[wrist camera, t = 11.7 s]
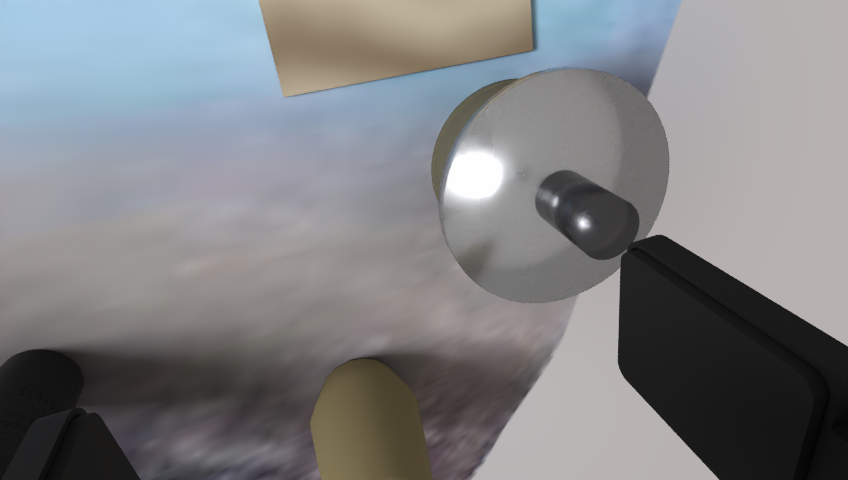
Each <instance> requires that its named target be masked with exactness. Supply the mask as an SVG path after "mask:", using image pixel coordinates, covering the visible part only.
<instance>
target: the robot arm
mask: <svg viewBox="0 0 848 480" xmlns="http://www.w3.org/2000/svg"><path fill="white" fill-rule="evenodd" d="M619 306H620V307H619V339H618V365H619V368H620V371H621V373H622V375H623V376H624V378H625V379H626V380H627V381H628V382H629V384H630V385H631V386H632V387H633V388H634V389H635V390H636V391H637V392H638V393H639V394H640V395H641V396H642V397H643V399H644V400H645V401H646V402H647V403H648V404H649V405H650V406H651V407H652V408H653V409H654V410H655V411H656V412H657V413H658V414H659V415H660V417H661V418H662V419H663V420H664V421H665V422H666V423H667V424H668V425H669V426H670V427H671V428H672V429H673V431H674V432H675V433H676V434H677V435H678V436H679V437H680V438H681V439H682V440H683V441H684V442H685V443H686V444H687V445H688V447H689V448H690V449H691V450H692V451H693V452H694V453H695V454H696V455H697V456H698V457H699V458H700V459H701V460H702V462H703V463H704V464H705V465H706V466H707V467H708V468H709V469H710V470H711V471H712V472H713V473H714V474H715V475H716V476H717V478H718V479H719V480H848V346H846V345H844V344H843V343H841V342H840V341H838V340H836V339H835V338H833V337H831V336H830V335H828V334H826V333H825V332H823V331H821V330H820V329H818V328H816V327H815V326H813V325H811V324H810V323H808V322H806V321H805V320H803V319H801V318H800V317H798V316H797V315H795V314H793V313H792V312H790V311H788V310H787V309H785V308H783V307H782V306H780V305H778V304H777V303H775V302H773V301H772V300H770V299H768V298H767V297H765V296H763V295H762V294H760V293H759V292H757V291H755V290H754V289H752V288H750V287H749V286H747V285H745V284H744V283H742V282H740V281H739V280H737V279H735V278H734V277H732V276H730V275H729V274H727V273H725V272H724V271H722V270H720V269H719V268H717V267H715V266H714V265H712V264H711V263H709V262H707V261H705V260H704V259H702V258H700V257H699V256H697V255H696V254H694V253H692V252H691V251H689V250H687V249H686V248H684V247H682V246H681V245H679V244H677V243H676V242H674V241H672V240H671V239H669V238H668V237H666V236H663V235H656V236H652V237H649V238H645V239H642V240H638V241H635V242H632V243H631V244H629V246H628V248H627V252H625V253H624V254H623V255H622V257H621V270H620V305H619ZM1 480H140V478H139V477H138V475H137V473H136V472H135V470H134V469H133V467H132V465H131V464H130V462H129V461H128V459H127V458H126V456H125V454H124V453H123V451H122V450H121V448H120V447H119V445H118V443H117V442H116V440H115V439H114V437H113V436H112V434H111V432H110V431H109V429H108V428H107V426H106V425H105V423H104V421H103V420H102V418H101V417H100V416H99V415H98V414H97V413H89V414H88V413H87V412H86V411H85V410H83V409H82V408H73V409H70V410H66V411H63V412H60V413H56V414H53V415H49V416H46V417H43V418H39V419H37V420H36V421H34V422H33V423H32V425H31V426H30V427H29V429H28V431H27V433H26V435H25V437H24V438H23V440H22V442H21V444H20V446H19V448H18V450H17V451H16V453H15V455H14V457H13V459H12V461H11V462H10V464H9V466H8V468H7V470H6V472H5V474H4V475H3V477H2V479H1Z"/></svg>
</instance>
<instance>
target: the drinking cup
mask: <svg viewBox="0 0 848 480" xmlns="http://www.w3.org/2000/svg"><path fill="white" fill-rule="evenodd" d="M82 387H83V376H82V373H81V371H80V369H79V368H78V366H77V365H76V364H75V363H74V362H73V361H72V360H70V359H69V358H67V357H65V356H63V355H61V354H58V353H55V352H52V351H46V350H31V351H26V352H22V353H19V354H16V355H14V356H12V357H11V358H9V359H8V360H7V361H6V362H5V363H4V364H3V365H2V366H1V367H0V480H1V479H2V477H3V475H4V474H5V472H6V470H7V468H8V466H9V464H10V462H11V461H12V459H13V457H14V455H15V453H16V451H17V450H18V448H19V446H20V444H21V442H22V440H23V438H24V437H25V435H26V433H27V431H28V429H29V427H30V426H31V425H32V423H33V422H34V421H36V420H37V419H39V418H43V417H46V416H49V415H53V414H56V413H60V412H63V411H66V410H70V409H73V408H75V406H76V404H77V401H78V398H79V396H80V393H81V390H82Z"/></svg>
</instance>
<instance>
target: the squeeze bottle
mask: <svg viewBox="0 0 848 480" xmlns="http://www.w3.org/2000/svg"><path fill="white" fill-rule="evenodd" d="M310 428H311V433H312V438H313V442H314V447H315V452H316V457H317V462H318V467H319V472H320V477H321V480H433V477H432V472H431V467H430V462H429V457H428V451H427V446H426V441H425V436H424V431H423V425H422V420H421V415H420V410H419V405H418V400H417V398H416V397H415V395H414V394H413V392H412V391H411V389H410V388H409V386H408V385H407V384H406V383H405V382H404V381H403V380H402V379H401V378H400V377H399V376H398V375H397V374H396V373H394V372H393V371H392V370H391V369H390V368H389V367H388V366H387V365H385V364H383V363H381V362H380V361H378V360H373V359H365V358H362V359H357V360H352V361H348V362H346V363H344V364H342V365H341V366H339V367H337V368H335V369H334V370H333V372H332V373H331V374H330V375H329V376H328V377H327V378H326V380H325V383H324V385H323V388H322V390H321V393H320V395H319V398H318V400H317V403H316V405H315V408H314V411H313V415H312V418H311V421H310Z"/></svg>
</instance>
